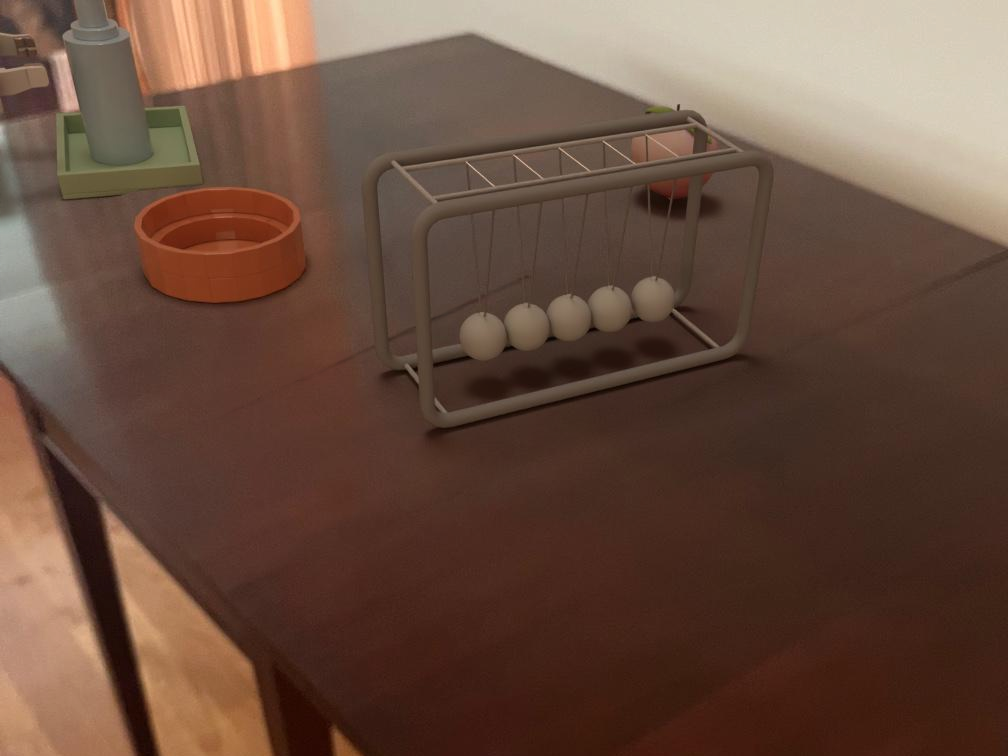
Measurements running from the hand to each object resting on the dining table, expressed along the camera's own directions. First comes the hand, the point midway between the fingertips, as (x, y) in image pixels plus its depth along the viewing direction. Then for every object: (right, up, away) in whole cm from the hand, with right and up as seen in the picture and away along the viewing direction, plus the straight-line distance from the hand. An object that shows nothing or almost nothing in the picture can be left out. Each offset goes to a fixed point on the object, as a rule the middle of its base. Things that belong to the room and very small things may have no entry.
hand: (41, 59), depth 115 cm
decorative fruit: (+62, -11, +9) cm, 64 cm away
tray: (+5, -6, +10) cm, 13 cm away
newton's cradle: (+52, -34, -17) cm, 65 cm away
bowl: (+21, -23, -8) cm, 32 cm away
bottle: (+4, -6, +10) cm, 12 cm away
